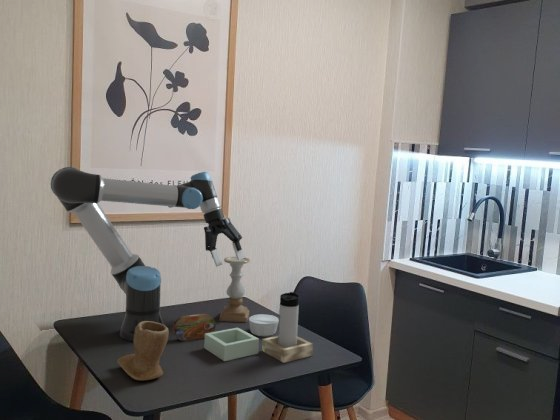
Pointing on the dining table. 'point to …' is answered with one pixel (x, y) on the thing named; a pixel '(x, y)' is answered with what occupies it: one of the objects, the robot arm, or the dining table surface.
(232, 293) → the candle holder
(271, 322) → the ramekin
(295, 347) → the brown square tray
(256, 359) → the dining table surface
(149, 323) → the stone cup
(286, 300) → the travel mug
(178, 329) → the tin
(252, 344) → the mint green square tray
